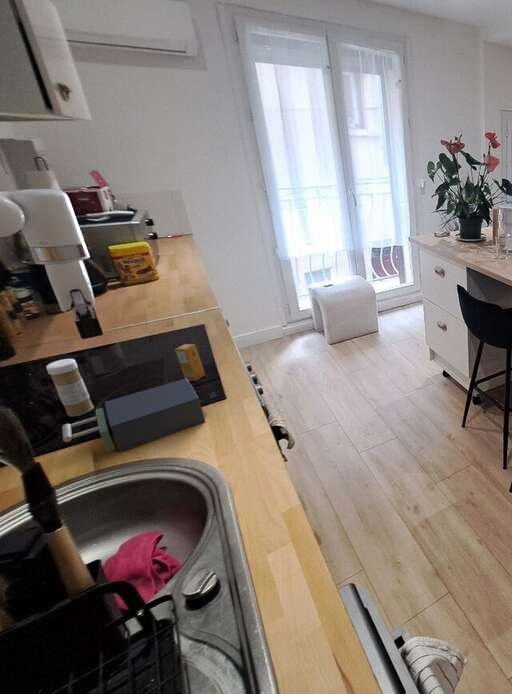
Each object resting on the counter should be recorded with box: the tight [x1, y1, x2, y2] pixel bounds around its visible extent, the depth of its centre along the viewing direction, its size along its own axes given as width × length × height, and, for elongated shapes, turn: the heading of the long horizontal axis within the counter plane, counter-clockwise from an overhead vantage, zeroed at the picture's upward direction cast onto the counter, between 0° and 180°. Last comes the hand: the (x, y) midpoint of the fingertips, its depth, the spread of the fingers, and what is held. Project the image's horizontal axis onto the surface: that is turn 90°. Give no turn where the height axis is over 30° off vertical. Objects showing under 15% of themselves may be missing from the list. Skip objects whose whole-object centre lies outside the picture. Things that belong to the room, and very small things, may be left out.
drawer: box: [61, 407, 116, 452], centre depth 91 cm, size 19×11×5 cm, turn 138°
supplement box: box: [174, 343, 206, 382], centre depth 112 cm, size 3×3×10 cm
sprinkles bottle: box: [45, 358, 95, 418], centre depth 96 cm, size 5×5×14 cm
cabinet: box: [104, 377, 206, 453], centre depth 94 cm, size 15×13×7 cm
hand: (90, 330), depth 88 cm, fingers open, 9 cm apart
